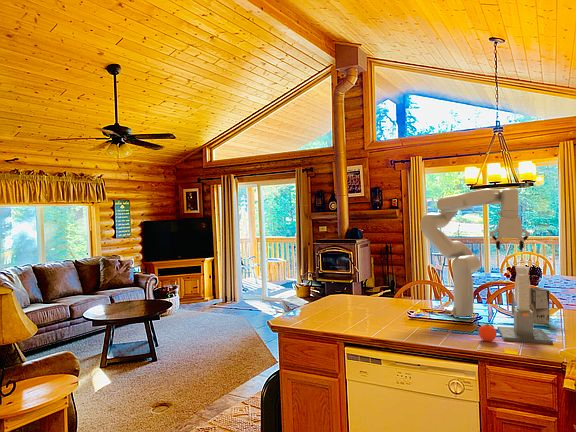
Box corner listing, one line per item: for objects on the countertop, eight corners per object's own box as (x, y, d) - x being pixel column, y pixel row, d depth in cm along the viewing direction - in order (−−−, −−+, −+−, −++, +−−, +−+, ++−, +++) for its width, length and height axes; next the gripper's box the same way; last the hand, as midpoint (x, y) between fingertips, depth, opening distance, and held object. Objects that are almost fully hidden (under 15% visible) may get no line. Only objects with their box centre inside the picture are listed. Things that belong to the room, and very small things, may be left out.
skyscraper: (527, 313, 231) (526, 261, 231) (534, 316, 223) (533, 263, 223) (510, 312, 232) (510, 261, 232) (517, 316, 224) (517, 263, 224)
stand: (504, 340, 180) (503, 313, 180) (497, 329, 198) (497, 304, 197) (552, 344, 175) (552, 316, 175) (541, 332, 192) (541, 307, 192)
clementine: (477, 337, 185) (477, 321, 185) (494, 338, 183) (494, 322, 183) (479, 342, 178) (479, 325, 178) (498, 344, 176) (497, 326, 176)
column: (518, 319, 185) (518, 275, 185) (517, 317, 189) (516, 274, 189) (529, 320, 183) (529, 275, 183) (527, 318, 187) (527, 274, 187)
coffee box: (550, 323, 207) (549, 290, 207) (535, 323, 209) (535, 290, 209) (542, 319, 216) (542, 287, 216) (529, 318, 218) (528, 287, 217)
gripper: (490, 214, 205) (491, 250, 205) (531, 214, 199) (531, 250, 199) (488, 214, 212) (489, 248, 212) (527, 214, 206) (528, 249, 206)
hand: (509, 249), depth 206 cm, fingers open, 9 cm apart
